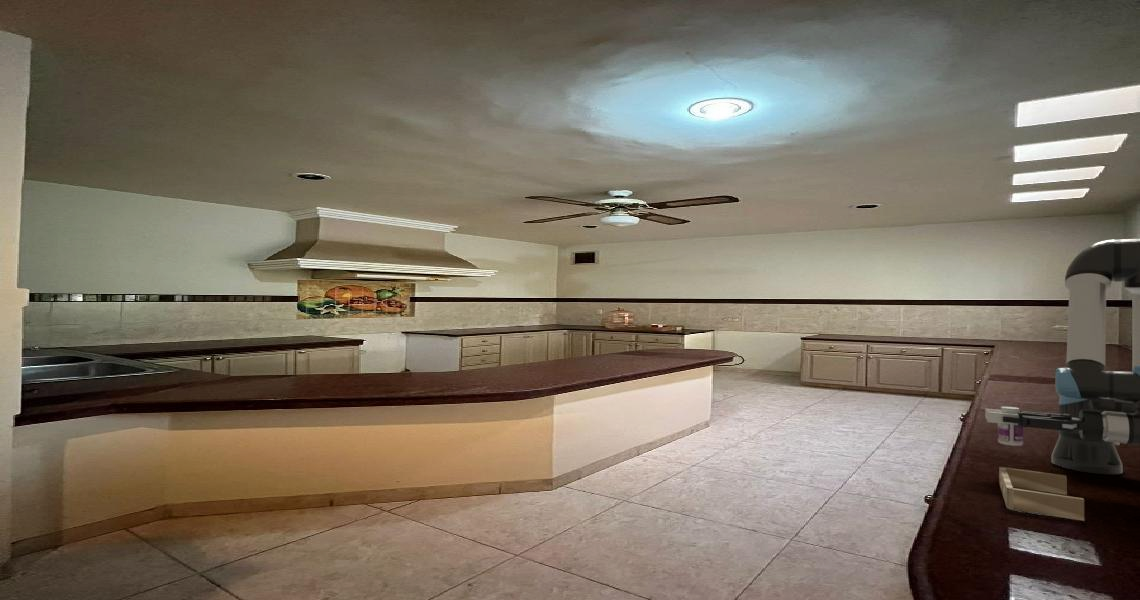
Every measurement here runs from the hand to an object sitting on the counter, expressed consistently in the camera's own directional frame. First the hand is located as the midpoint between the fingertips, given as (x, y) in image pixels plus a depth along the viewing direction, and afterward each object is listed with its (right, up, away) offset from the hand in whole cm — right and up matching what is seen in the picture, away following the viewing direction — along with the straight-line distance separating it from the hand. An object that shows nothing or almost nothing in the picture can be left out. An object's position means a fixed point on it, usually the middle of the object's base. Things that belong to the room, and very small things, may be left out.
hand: (986, 415), depth 155 cm
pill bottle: (+4, -7, -3) cm, 9 cm away
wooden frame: (-4, -16, -21) cm, 27 cm away
